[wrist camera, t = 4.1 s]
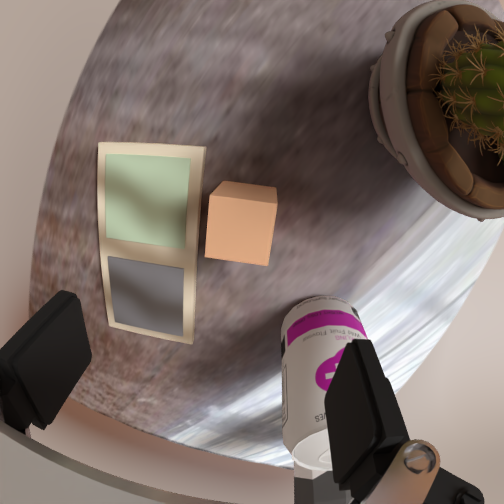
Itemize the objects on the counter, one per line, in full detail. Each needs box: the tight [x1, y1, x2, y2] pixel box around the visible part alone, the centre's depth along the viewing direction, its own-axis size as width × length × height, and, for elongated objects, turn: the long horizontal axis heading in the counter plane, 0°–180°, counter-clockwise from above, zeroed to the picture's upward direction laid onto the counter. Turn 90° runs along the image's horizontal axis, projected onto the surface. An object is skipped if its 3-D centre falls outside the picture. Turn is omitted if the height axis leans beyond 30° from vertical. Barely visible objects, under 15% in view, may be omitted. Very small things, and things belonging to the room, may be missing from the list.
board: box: [97, 142, 206, 344], centre depth 28 cm, size 20×10×1 cm, turn 173°
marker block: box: [205, 181, 278, 266], centre depth 23 cm, size 4×4×6 cm
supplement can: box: [281, 296, 368, 471], centre depth 23 cm, size 8×8×15 cm
